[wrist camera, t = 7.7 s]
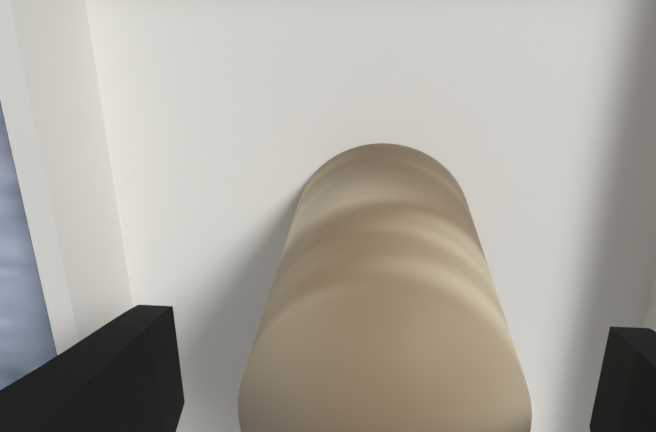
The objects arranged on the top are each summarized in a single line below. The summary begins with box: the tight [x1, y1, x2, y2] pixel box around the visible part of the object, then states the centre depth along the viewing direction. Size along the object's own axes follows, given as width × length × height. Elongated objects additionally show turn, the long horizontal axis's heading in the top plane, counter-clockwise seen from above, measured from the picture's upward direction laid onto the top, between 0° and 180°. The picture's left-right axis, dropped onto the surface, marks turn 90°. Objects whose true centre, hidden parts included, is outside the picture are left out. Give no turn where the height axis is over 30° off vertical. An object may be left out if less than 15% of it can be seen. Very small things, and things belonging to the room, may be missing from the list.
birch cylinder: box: [238, 143, 532, 432], centre depth 12 cm, size 4×4×7 cm
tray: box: [0, 0, 656, 432], centre depth 14 cm, size 15×17×4 cm
